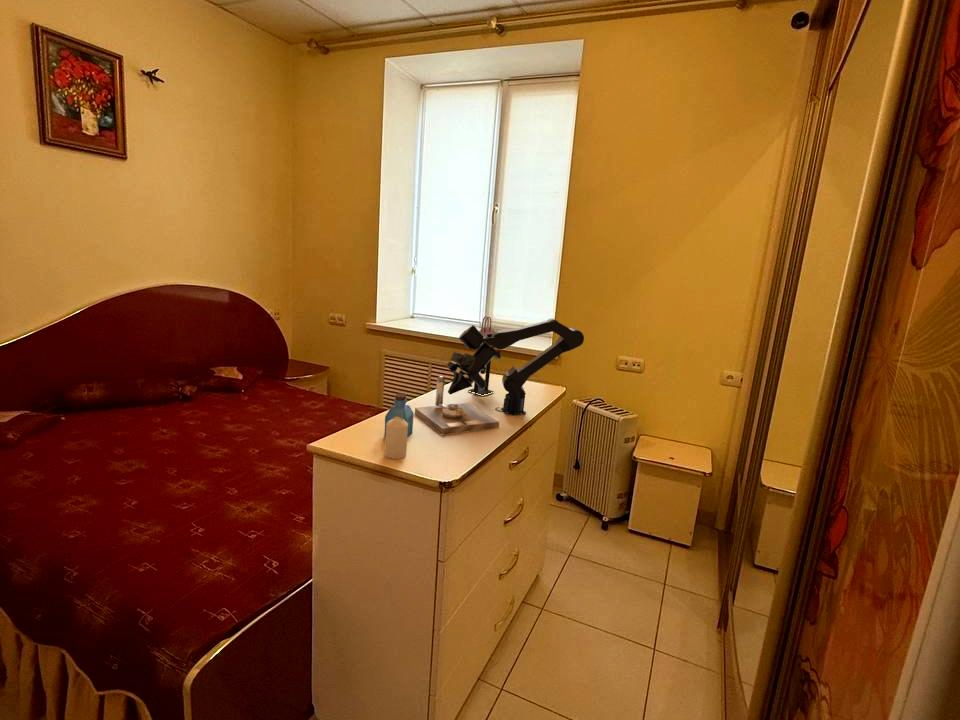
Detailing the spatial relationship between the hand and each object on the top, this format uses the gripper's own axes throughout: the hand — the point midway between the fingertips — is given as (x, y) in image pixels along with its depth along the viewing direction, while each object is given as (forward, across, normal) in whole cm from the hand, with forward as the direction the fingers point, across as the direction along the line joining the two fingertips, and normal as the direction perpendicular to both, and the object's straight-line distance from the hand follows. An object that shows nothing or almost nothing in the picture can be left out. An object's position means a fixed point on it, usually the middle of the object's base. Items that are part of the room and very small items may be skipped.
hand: (449, 393), depth 164 cm
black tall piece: (-12, -18, +22) cm, 31 cm away
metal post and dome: (+5, +7, +1) cm, 9 cm away
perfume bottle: (+21, +13, -11) cm, 27 cm away
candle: (+26, +26, -16) cm, 40 cm away
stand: (+6, +7, +4) cm, 10 cm away
